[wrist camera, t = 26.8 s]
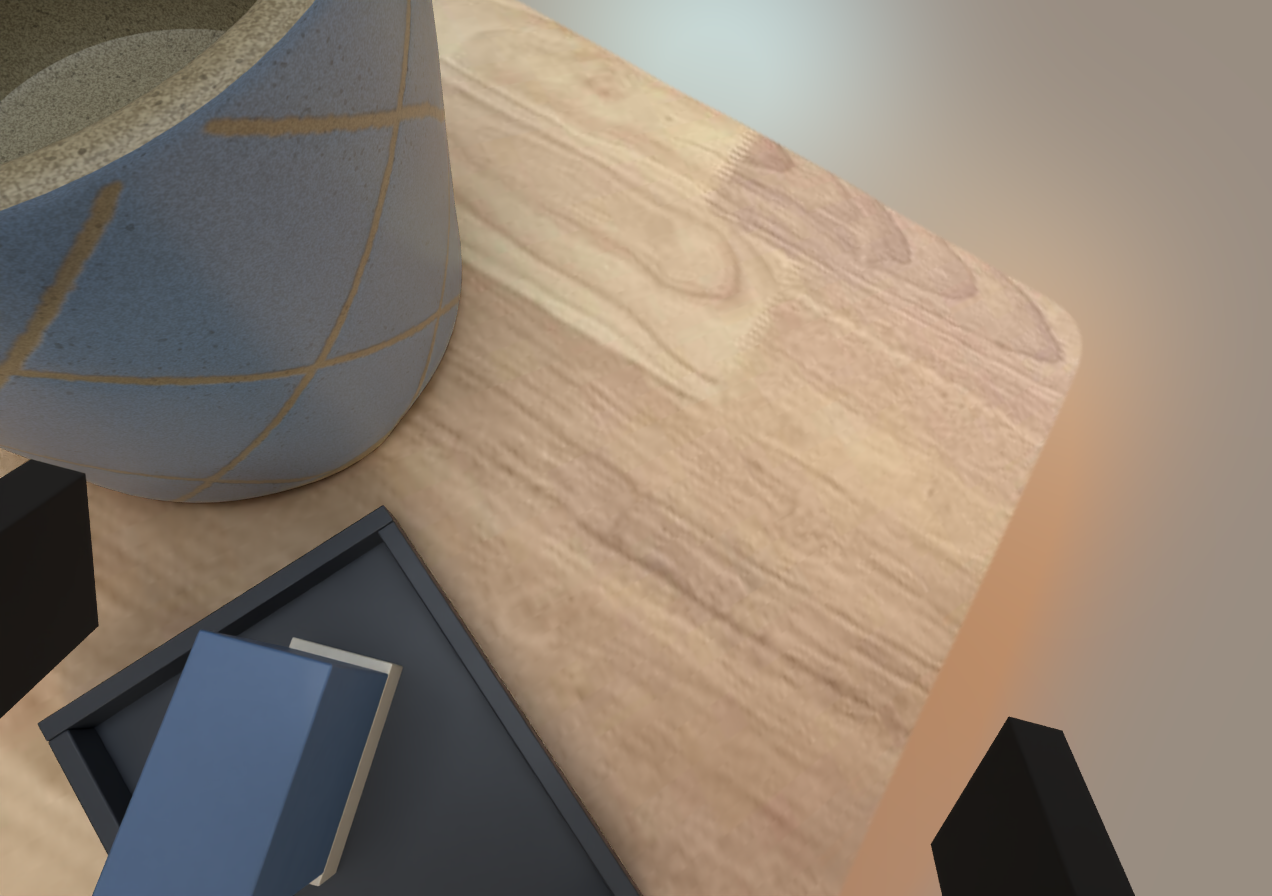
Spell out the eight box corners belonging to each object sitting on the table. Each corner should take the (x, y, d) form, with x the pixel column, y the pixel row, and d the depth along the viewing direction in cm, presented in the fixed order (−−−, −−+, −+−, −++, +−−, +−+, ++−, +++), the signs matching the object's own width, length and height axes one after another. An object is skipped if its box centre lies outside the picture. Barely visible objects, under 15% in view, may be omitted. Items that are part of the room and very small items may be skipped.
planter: (53, 62, 42) (-512, -654, 20) (511, 117, 44) (462, -494, 21) (-95, 508, 36) (-1190, 180, 13) (451, 555, 37) (288, 331, 15)
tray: (656, 915, 34) (664, 932, 31) (328, 1189, 30) (307, 1232, 28) (394, 517, 37) (383, 504, 35) (74, 722, 34) (36, 723, 32)
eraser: (335, 874, 33) (231, 954, 22) (234, 847, 33) (82, 915, 22) (403, 666, 35) (338, 650, 25) (309, 641, 35) (204, 614, 25)
